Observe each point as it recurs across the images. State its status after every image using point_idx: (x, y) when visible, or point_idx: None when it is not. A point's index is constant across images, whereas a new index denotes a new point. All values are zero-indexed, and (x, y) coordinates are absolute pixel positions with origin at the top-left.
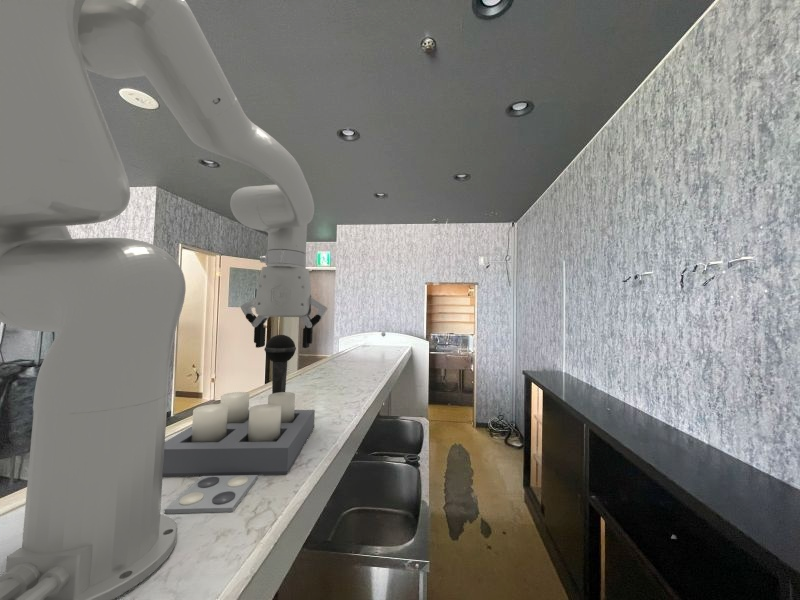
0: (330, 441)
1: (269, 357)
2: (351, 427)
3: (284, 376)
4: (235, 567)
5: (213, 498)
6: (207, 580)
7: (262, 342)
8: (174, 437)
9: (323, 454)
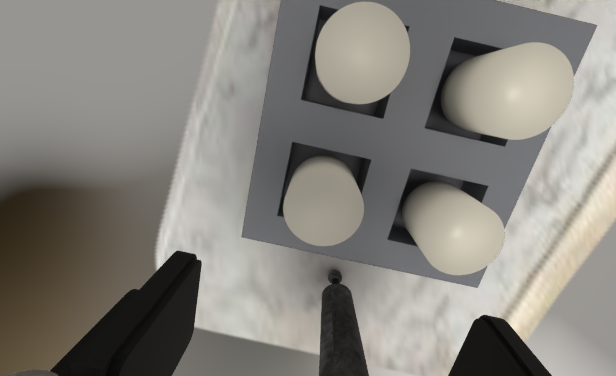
0: (213, 132)
1: None
2: (167, 205)
3: (325, 353)
4: None
5: None
6: None
7: (471, 374)
8: None
9: (226, 62)
